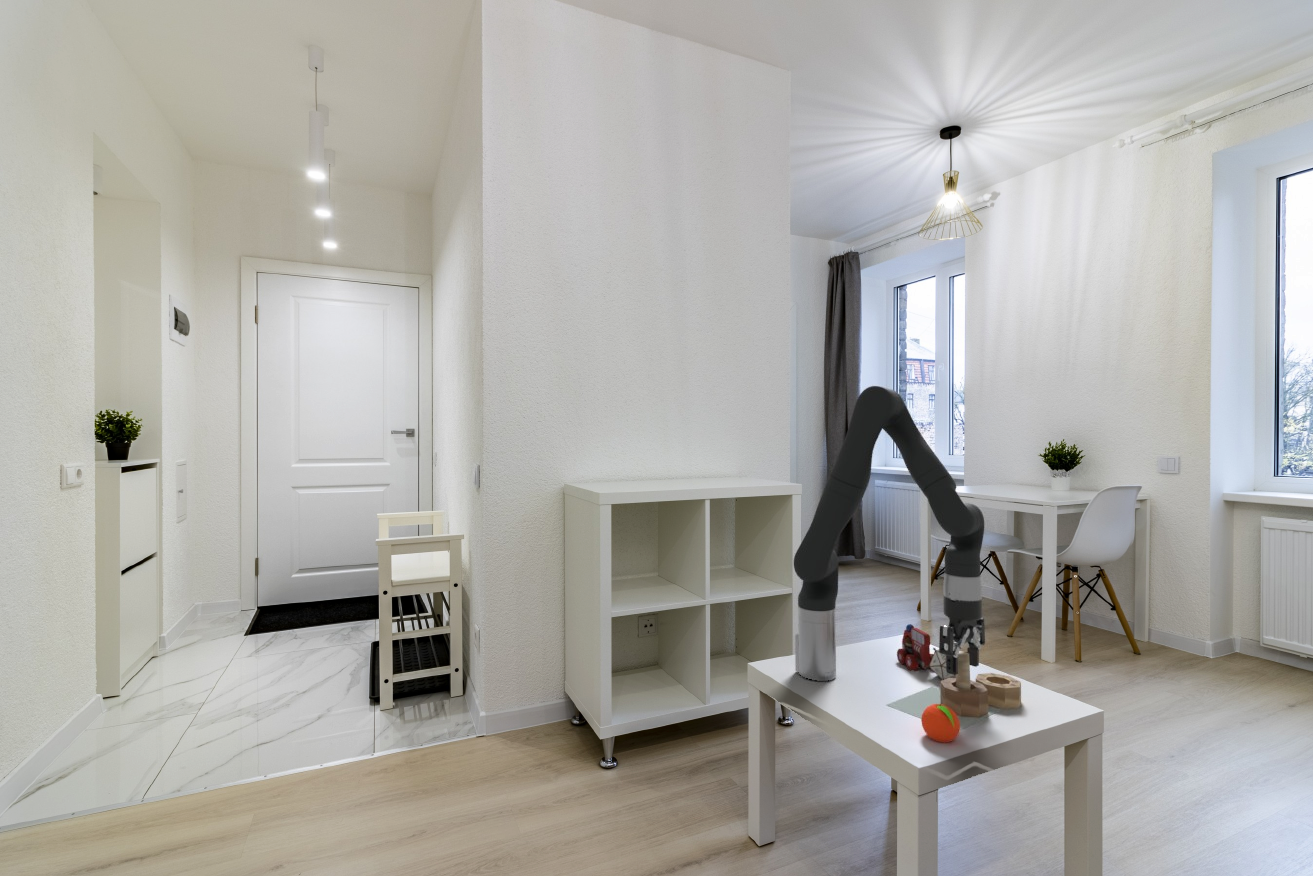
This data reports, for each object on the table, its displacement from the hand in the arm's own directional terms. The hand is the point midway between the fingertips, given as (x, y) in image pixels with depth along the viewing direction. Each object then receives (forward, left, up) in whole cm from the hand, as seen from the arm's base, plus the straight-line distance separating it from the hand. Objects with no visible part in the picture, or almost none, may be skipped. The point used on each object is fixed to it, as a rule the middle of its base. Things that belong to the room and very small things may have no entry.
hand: (962, 669), depth 135 cm
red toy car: (-22, +17, -9) cm, 29 cm away
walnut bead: (0, 0, -9) cm, 9 cm away
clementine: (+5, -17, -9) cm, 20 cm away
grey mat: (-3, -3, -9) cm, 10 cm away
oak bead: (+2, +11, -9) cm, 14 cm away
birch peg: (0, 0, -8) cm, 8 cm away
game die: (-12, +14, -9) cm, 21 cm away
